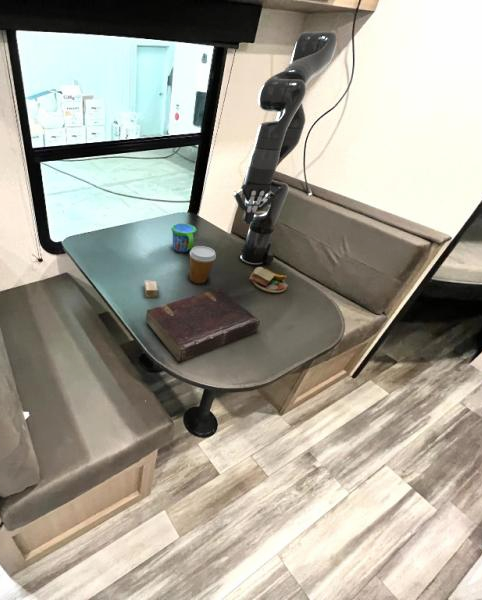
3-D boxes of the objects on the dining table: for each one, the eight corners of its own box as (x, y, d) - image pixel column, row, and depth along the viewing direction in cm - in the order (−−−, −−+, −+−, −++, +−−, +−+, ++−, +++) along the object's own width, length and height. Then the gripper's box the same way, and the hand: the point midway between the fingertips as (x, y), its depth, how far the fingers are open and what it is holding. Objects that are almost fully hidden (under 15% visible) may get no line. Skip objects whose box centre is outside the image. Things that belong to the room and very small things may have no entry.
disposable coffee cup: (210, 287, 117) (216, 259, 110) (184, 283, 119) (189, 255, 112) (210, 274, 125) (216, 247, 118) (186, 271, 126) (190, 244, 119)
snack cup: (164, 242, 147) (166, 221, 141) (185, 240, 149) (188, 220, 143) (175, 258, 135) (178, 236, 129) (198, 256, 137) (202, 234, 131)
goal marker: (155, 287, 116) (155, 280, 114) (156, 297, 111) (157, 290, 109) (144, 287, 116) (144, 280, 114) (145, 297, 111) (146, 290, 109)
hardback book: (179, 362, 87) (182, 349, 84) (145, 322, 100) (147, 310, 97) (256, 332, 98) (260, 320, 95) (216, 299, 111) (219, 288, 108)
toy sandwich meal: (276, 298, 113) (280, 287, 110) (243, 282, 121) (246, 272, 118) (291, 286, 120) (296, 275, 117) (259, 271, 128) (263, 261, 125)
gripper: (279, 162, 92) (262, 218, 103) (235, 161, 91) (222, 217, 102) (291, 168, 86) (271, 227, 97) (244, 167, 85) (229, 227, 96)
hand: (246, 222), depth 99 cm, fingers closed
